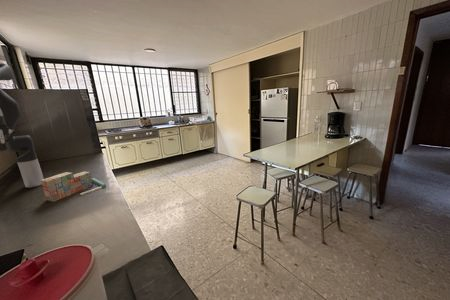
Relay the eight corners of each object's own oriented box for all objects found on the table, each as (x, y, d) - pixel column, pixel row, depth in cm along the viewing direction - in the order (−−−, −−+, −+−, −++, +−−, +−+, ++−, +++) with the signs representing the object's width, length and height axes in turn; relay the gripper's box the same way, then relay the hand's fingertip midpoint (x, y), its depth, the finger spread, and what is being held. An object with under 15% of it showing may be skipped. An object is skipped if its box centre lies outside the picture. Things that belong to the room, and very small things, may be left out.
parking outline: (70, 187, 116) (70, 184, 115) (94, 180, 126) (93, 177, 125) (81, 195, 105) (80, 192, 104) (106, 186, 115) (105, 183, 114)
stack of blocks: (87, 184, 120) (83, 166, 117) (93, 185, 118) (89, 167, 115) (46, 200, 101) (40, 179, 98) (52, 202, 99) (46, 181, 96)
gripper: (10, 114, 94) (21, 147, 98) (-33, 116, 84) (-19, 152, 88) (12, 114, 89) (23, 149, 94) (-34, 117, 79) (-19, 155, 84)
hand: (3, 150), depth 91 cm, fingers closed
